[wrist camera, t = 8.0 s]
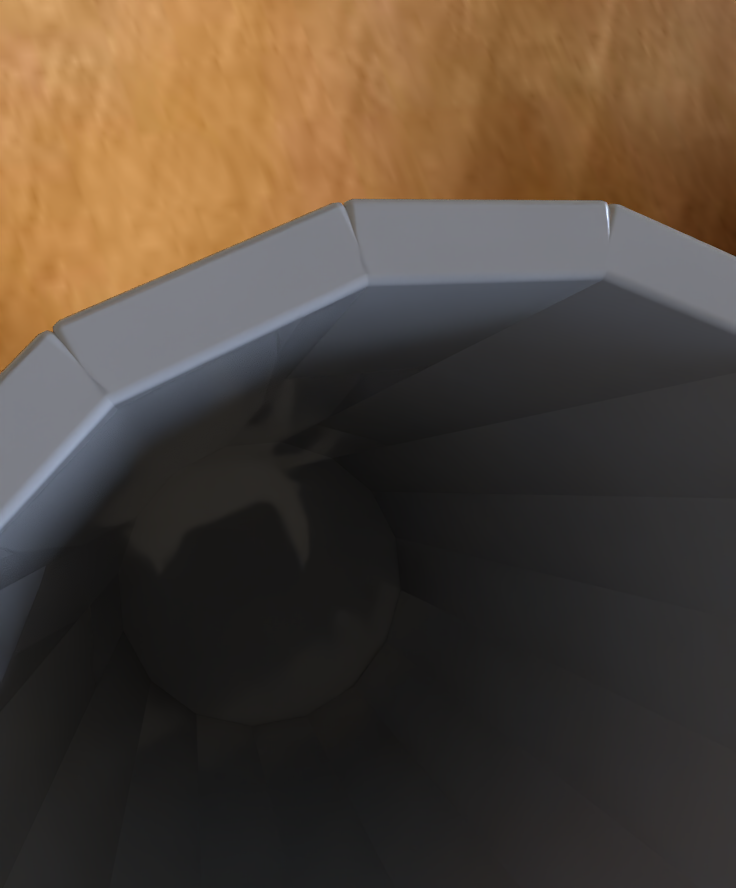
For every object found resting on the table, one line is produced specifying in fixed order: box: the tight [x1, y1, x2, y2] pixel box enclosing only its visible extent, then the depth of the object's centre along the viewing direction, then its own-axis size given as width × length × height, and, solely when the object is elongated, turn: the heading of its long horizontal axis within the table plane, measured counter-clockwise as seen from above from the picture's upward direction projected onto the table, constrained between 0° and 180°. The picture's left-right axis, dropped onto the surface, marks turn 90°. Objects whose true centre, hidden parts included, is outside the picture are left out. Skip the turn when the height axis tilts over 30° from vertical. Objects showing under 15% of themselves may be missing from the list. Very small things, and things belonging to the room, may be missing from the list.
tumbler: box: [0, 199, 736, 888], centre depth 9 cm, size 7×7×13 cm
